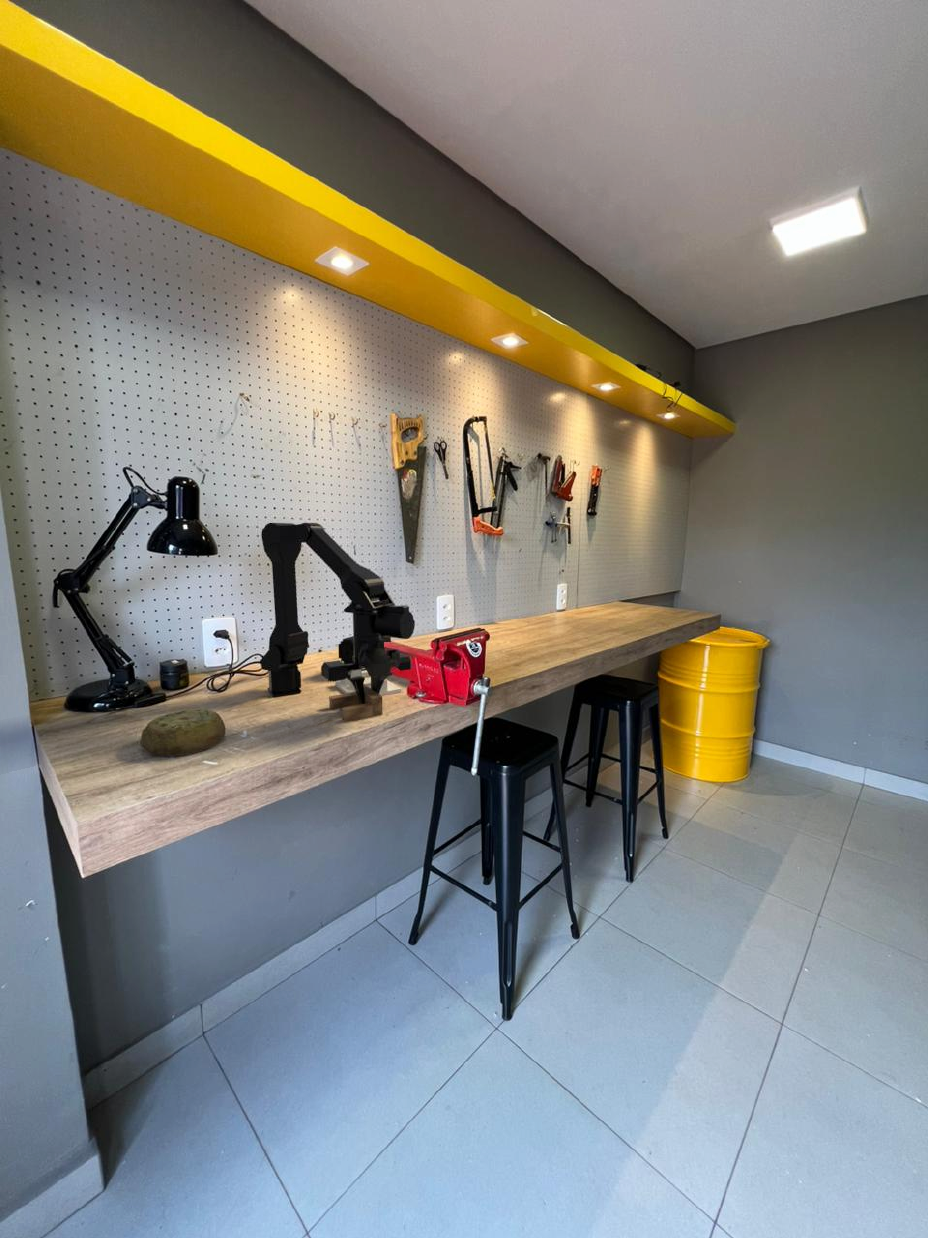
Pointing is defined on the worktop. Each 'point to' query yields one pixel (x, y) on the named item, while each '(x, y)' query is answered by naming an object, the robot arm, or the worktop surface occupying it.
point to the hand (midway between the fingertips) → (368, 704)
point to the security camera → (351, 649)
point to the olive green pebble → (183, 732)
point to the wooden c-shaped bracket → (357, 705)
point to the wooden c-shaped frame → (385, 689)
